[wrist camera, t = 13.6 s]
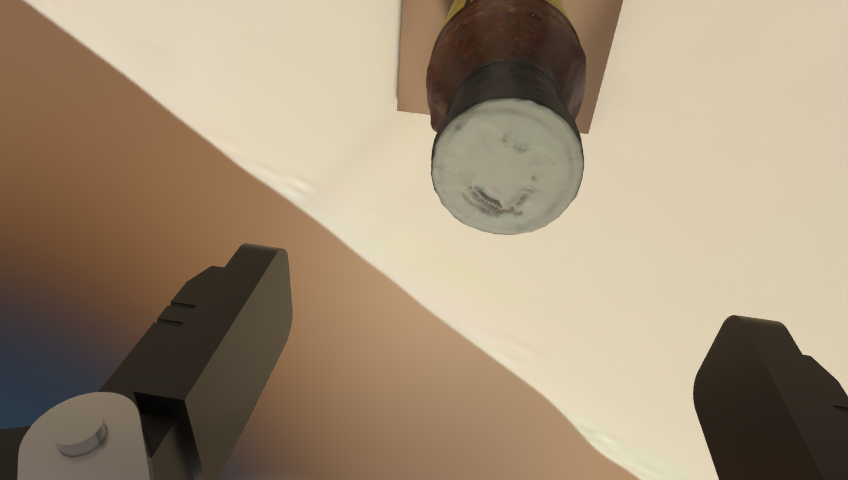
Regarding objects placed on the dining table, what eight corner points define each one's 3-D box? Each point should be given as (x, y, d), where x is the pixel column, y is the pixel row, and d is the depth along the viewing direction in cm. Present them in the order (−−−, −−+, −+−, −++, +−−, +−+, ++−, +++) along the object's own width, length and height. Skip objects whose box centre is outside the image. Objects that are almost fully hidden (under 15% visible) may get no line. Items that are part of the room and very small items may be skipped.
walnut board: (643, -93, 28) (647, -93, 27) (586, 127, 35) (588, 133, 34) (411, -115, 29) (408, -115, 28) (399, 105, 35) (397, 110, 35)
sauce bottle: (480, 95, 33) (436, 305, 17) (431, -3, 31) (323, 133, 14) (584, 45, 31) (652, 233, 14) (541, -66, 28) (564, 10, 12)
